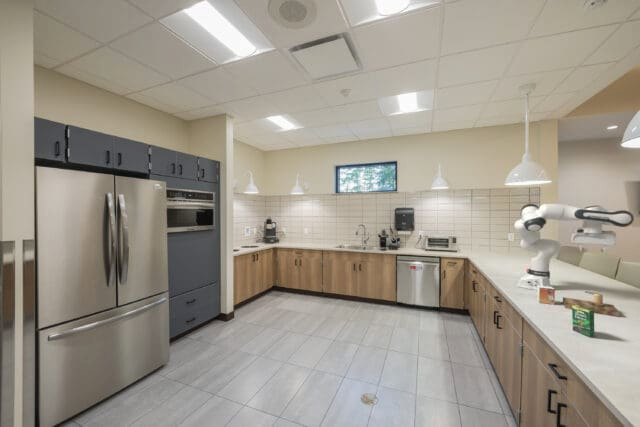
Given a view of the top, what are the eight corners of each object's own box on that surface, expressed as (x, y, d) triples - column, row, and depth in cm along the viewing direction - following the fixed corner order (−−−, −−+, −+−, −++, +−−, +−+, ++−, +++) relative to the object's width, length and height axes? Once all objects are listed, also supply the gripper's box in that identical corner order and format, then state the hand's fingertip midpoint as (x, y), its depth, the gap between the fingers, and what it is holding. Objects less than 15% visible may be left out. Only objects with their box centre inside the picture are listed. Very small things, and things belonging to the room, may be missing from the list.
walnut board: (565, 308, 157) (565, 302, 157) (562, 302, 166) (562, 297, 166) (618, 317, 143) (619, 311, 143) (612, 310, 153) (612, 304, 153)
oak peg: (594, 311, 152) (594, 294, 152) (593, 309, 155) (593, 293, 155) (603, 312, 150) (603, 296, 149) (602, 310, 153) (602, 294, 152)
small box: (538, 303, 166) (539, 287, 166) (536, 300, 171) (536, 284, 171) (554, 305, 162) (555, 288, 162) (551, 302, 167) (551, 286, 167)
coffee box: (571, 329, 129) (571, 304, 129) (576, 329, 129) (576, 304, 129) (589, 337, 121) (589, 310, 121) (594, 337, 121) (595, 310, 121)
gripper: (614, 230, 161) (614, 252, 161) (569, 229, 174) (569, 249, 174) (617, 231, 156) (617, 253, 156) (571, 230, 169) (571, 250, 169)
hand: (592, 251), depth 165 cm, fingers open, 8 cm apart
